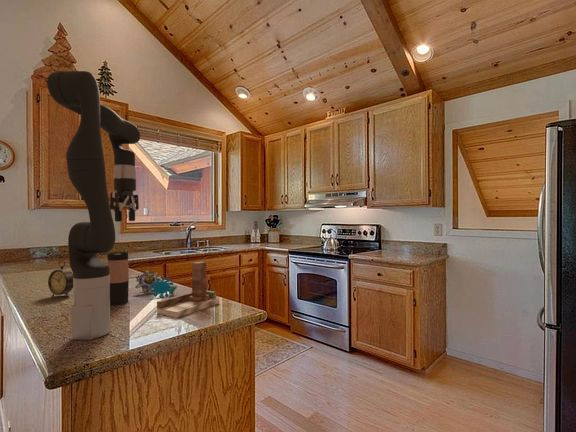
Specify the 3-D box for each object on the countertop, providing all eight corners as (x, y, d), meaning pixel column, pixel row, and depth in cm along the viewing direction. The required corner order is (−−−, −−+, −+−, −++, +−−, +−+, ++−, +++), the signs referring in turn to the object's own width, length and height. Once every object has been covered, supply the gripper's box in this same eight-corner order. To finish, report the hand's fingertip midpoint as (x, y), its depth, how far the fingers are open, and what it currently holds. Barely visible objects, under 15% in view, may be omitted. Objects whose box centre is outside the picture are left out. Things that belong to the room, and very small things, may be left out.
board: (176, 318, 109) (176, 305, 109) (157, 313, 114) (156, 301, 114) (218, 303, 127) (218, 292, 127) (200, 300, 132) (200, 289, 132)
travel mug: (103, 303, 128) (102, 253, 128) (121, 299, 135) (120, 251, 135) (115, 306, 124) (114, 254, 124) (133, 301, 131) (132, 252, 131)
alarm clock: (47, 296, 140) (46, 260, 140) (59, 293, 146) (58, 258, 146) (66, 298, 137) (65, 260, 137) (77, 295, 142) (77, 259, 142)
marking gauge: (200, 302, 120) (200, 264, 120) (189, 300, 123) (188, 263, 123) (211, 299, 125) (210, 262, 125) (199, 297, 128) (199, 261, 128)
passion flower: (149, 305, 145) (134, 286, 139) (141, 296, 153) (127, 278, 147) (170, 288, 151) (157, 270, 145) (161, 280, 158) (148, 263, 152)
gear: (148, 295, 134) (151, 275, 141) (147, 303, 138) (151, 283, 145) (175, 296, 137) (178, 277, 145) (174, 304, 141) (177, 284, 148)
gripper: (126, 180, 127) (127, 221, 127) (102, 176, 113) (103, 221, 113) (144, 180, 127) (145, 220, 127) (123, 175, 112) (123, 221, 112)
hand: (125, 221), depth 120 cm, fingers open, 8 cm apart
